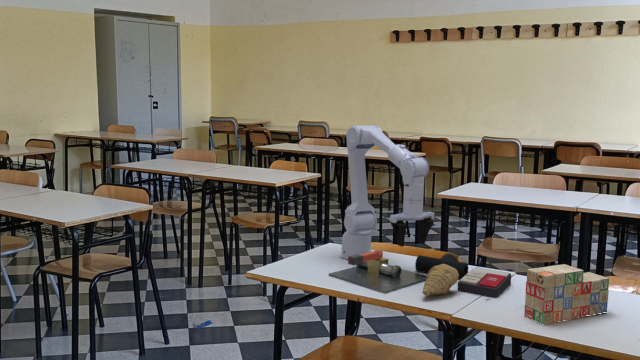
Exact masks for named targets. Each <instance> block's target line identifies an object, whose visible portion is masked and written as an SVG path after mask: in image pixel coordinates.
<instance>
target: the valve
mask: <svg viewBox="0 0 640 360" xmlns="http://www.w3.org/2000/svg"><path fill="white" fill-rule="evenodd" d="M328 276H330V277H333V278H336V279H338V280H342V281H345V282H348V283H351V284H354V285H357V286H360V287H363V288H366V289H369V290H373V291H375V292H378V293H381V294H389V293H391V292H395V291H397V290H400V289H403V288H404V289H405V288H408V287H410V286H413V285H416V284H420V283H423V282H425V281H426V278H427V274H426V275H425V274H422V273H418V272H414V271H411V270H407V269H404V268H402V267H401V266H400V265H392V264H389V258H387V257H383V258H377V259H373V260H369V261H365V262H363V263H361V264H357V265H355V266H353V267H349V268H345V269H341V270H338V271H334V272H328Z"/></svg>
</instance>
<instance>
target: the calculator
mask: <svg viewBox="0 0 640 360" xmlns="http://www.w3.org/2000/svg"><path fill="white" fill-rule="evenodd" d="M511 285H512V273H511V272H508V271H502V270H497V269H489V268H485V267H479V266H478V267H477V266H475V267H473V268H472V269H471V270H470V271H468V273H467V274H466V275H465V276H464V277H463V278H462V279H459V280H458V281H457V291H458V292H461V293H466V294H472V295H478V296H482V297H487V298H492V299H493V298H494V299H498V298H499V297H500V296H501V295H502V294H503V292H505V290H507V289H508V288H509V287H510V286H511Z"/></svg>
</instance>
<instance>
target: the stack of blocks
mask: <svg viewBox="0 0 640 360" xmlns="http://www.w3.org/2000/svg"><path fill="white" fill-rule="evenodd" d="M609 284H610V278H608V277H606V276H603V275H600V274H596V273H593V272H590V271H587V272H585V271H584V269H581V268H578V267H575V266H570V265H568V264H565V263H563V264H556V265H548V266H543V267H534V268H528V269H527V271H526V281H525V298H524V299H525V301H524V313H523V315H524V317H525V316H526V317H525V318H527V317H528V318H527V319H529V318H531V319H533V320H535V321H537V322H536V323H538V322H539V323H538V324H540V323H541V324H540V325H542V324H545V325H549V324H548V323H551V324H555V323H554V322H557V323H559V322H558V321H563V320H569V321H571V320H570V319H573V320H575V319H574V318H578V317H582V316H586V315H593V314H598V313H603V312H608V305H609V304H608V303H609V302H608V301H609V286H610V285H609ZM531 319H530V320H531ZM578 319H579V318H578ZM533 320H532V321H533ZM535 321H534V322H535ZM563 322H564V321H563Z"/></svg>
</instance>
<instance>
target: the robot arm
mask: <svg viewBox="0 0 640 360" xmlns="http://www.w3.org/2000/svg"><path fill="white" fill-rule="evenodd" d="M383 132H384V131H383V128H380V127H379V126H378V125H377V124H372V125H355V124H354V125H351V126H350V127H349V128H348V130H347V131H346V133H345V137H346V149H347V157H348V158H347V161H348V169H349V182H350V196H351V197H350V199H351V204H350V205H349V206H348V207H346V209H345V210H344V213H345V214H344V218H343V219H344V220H343V225H344V228H345V230H346V231H345V232H344V233H343V235H342V237H341V255H339V258H342V259H345V260H348V256H352V255H356V254H359V255H360V254H364V253H369V252H372V249H371V248H372V233H374V230H375V229H376V228H377V225H378V218H377V215H376V213H375V207H374V206H372V204H370V203H369V199H368V198H369V197H368V185H367V184H368V183H367V172H366V154H367V152H368V151H370V150H371V149H373V148H374V147H375V146H376V147H378V149H380V150H381V151H383V152H385V153H386V154H387V158H388V160H389V161H390V162H391V163H393V164H394V166H396V167H397V168H398V169H399V170H400V174H401V176H402V184H403V205H402V212H401V213H396V214H391V215H390V217H389V222H390V225H391V228H393V232H394V235H395V237H396V242H397V246H399V247H404V246H405V237H406V232H407V228H408V224H406V223H405V222H410V221H411V222H412V221H416V223H417V227H418V236H417V237H418V243H419V244H422V245H425V244H426V242H427V237H428V234H429V232H430V230H431V228H432V227H433V226H434V223H435V221H434V220H435V212H432V211H424V209H423V208H424V195H425V194H424V191H425V189H424V188H425V177H426V176H428V174H429V172H430V165H429V162H428V161H427V159H426V158H425V157H418V156H416V154H415V153H413V152H411V151H410V150H409V149H407V148H406V145H404V144H395V143H394V142H393V141H392V140H391V139H389V137H388V136H387V135H386V134H385V133H383Z"/></svg>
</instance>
